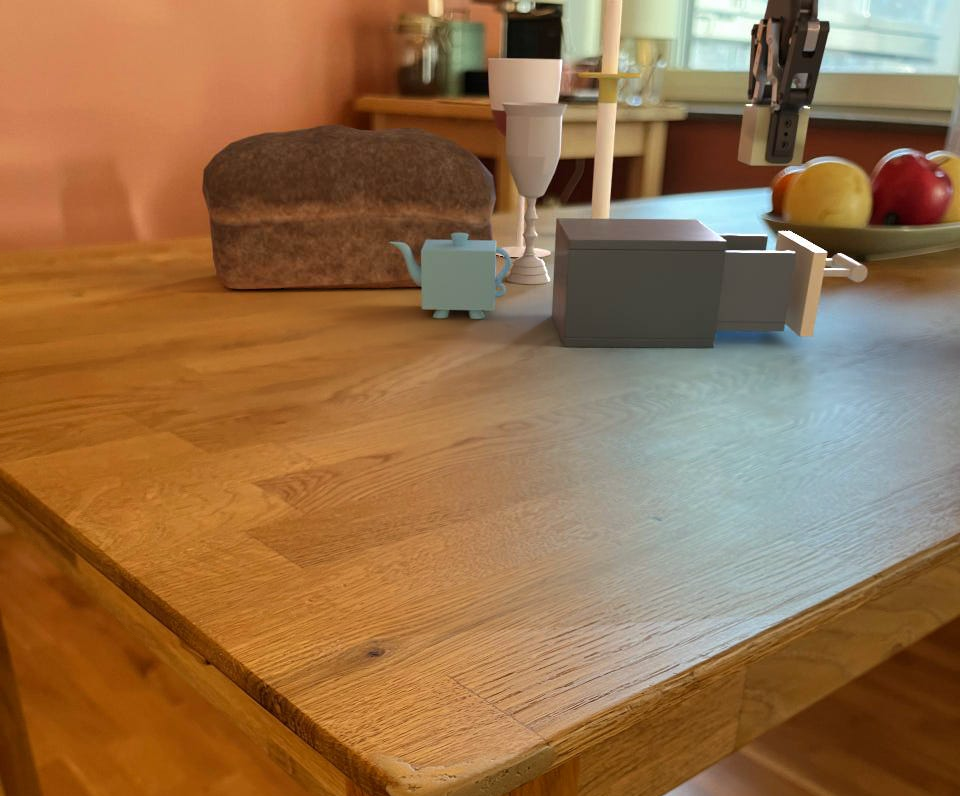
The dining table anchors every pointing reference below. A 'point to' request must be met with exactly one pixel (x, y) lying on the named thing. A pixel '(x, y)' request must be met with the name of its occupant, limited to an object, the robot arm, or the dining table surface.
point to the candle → (607, 109)
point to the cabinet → (637, 282)
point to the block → (766, 136)
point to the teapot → (457, 274)
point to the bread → (339, 205)
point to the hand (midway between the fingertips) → (769, 159)
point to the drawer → (776, 283)
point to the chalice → (532, 171)
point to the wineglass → (521, 85)
